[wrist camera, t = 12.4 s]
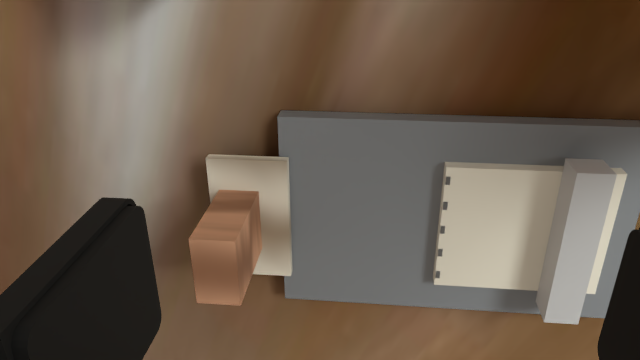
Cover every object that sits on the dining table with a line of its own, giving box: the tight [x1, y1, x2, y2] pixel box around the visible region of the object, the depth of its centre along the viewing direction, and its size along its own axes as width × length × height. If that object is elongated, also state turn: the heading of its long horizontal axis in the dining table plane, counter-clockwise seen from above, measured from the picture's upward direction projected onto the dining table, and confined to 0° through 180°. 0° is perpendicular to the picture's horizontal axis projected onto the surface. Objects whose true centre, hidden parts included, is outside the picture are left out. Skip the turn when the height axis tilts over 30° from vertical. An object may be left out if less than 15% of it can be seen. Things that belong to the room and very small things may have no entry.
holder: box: [277, 110, 640, 324], centre depth 39 cm, size 16×26×5 cm, turn 90°
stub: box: [189, 154, 292, 306], centre depth 38 cm, size 10×6×8 cm, turn 0°
